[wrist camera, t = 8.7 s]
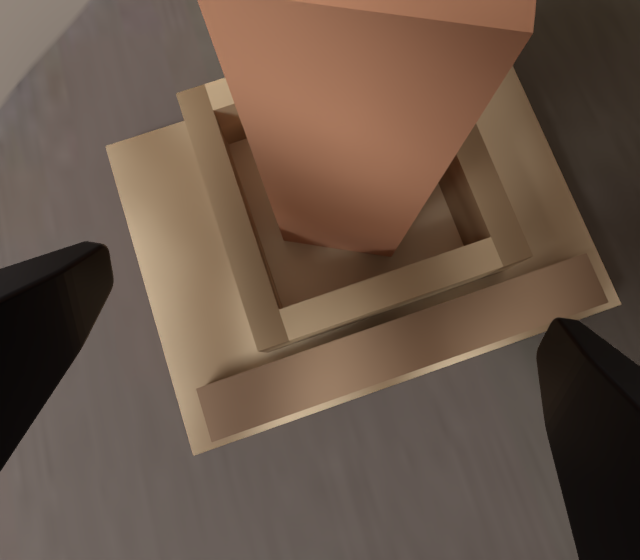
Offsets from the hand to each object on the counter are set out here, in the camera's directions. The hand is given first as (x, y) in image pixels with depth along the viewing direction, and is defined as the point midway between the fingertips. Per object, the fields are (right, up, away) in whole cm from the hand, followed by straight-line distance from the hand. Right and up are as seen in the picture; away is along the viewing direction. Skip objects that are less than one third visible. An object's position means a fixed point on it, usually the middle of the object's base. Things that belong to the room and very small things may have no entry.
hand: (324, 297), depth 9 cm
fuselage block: (+1, +3, +8) cm, 9 cm away
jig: (+1, +2, +9) cm, 10 cm away
